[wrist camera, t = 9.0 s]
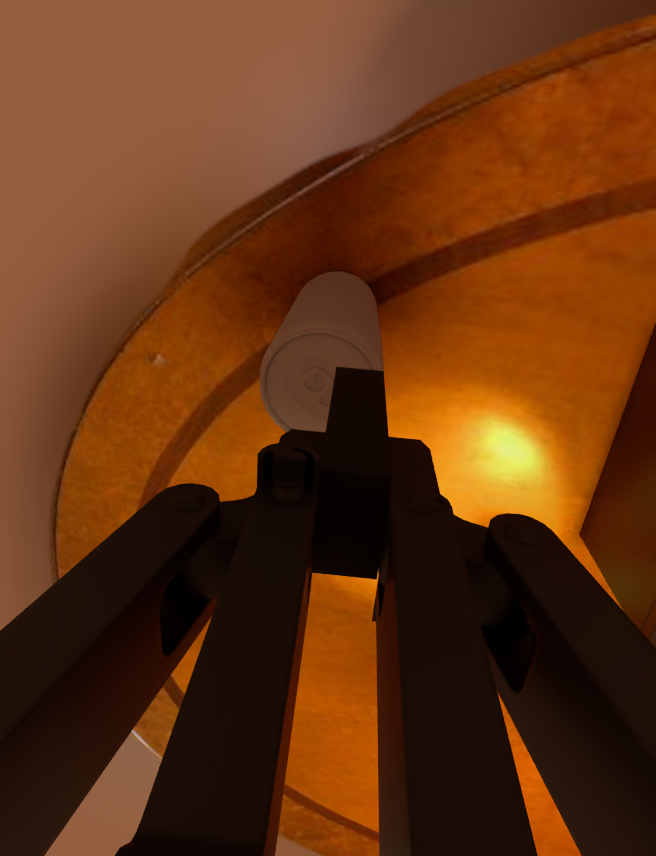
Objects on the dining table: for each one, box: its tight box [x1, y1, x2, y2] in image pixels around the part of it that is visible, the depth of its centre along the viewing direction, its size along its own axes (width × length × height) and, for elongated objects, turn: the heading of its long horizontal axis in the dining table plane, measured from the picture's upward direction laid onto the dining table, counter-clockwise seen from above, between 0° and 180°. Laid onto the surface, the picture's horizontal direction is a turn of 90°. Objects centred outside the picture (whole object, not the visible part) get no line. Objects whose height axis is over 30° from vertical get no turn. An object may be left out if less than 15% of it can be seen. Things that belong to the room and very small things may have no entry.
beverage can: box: [260, 271, 384, 432], centre depth 25 cm, size 5×5×12 cm
